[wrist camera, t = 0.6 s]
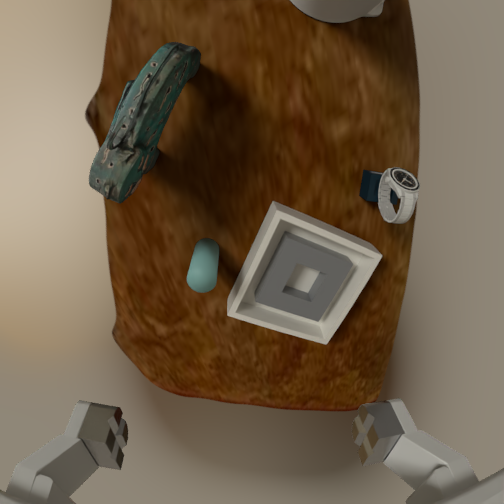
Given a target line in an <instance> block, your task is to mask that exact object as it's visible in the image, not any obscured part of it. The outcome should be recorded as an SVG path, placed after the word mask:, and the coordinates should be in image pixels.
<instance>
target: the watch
mask: <svg viewBox="0 0 504 504" xmlns="http://www.w3.org/2000/svg"><path fill="white" fill-rule="evenodd" d="M419 188H420V184H419V181H418V180H417V178H416V177H415V176H414V175H413V174H412V173H410V172H409V171H407V170H405V169H402V168H398V167H395V168H392V169H390V168H388V169H387V170H386V171H385V172H384V173H380V172H374V171H368V170H363V177H362V183H361V189H360V195H359V196H361V197H362V198H364V199H365V200H366V201H373V202H379V203H378V206H379V209H380V212H381V215H382V217H383V218H384V220H385V221H387V222H390V223H399V224H403V223H405V222H407V220H409V219H410V217H411V216H412V214H413V211H414V208H415V204H416V201H417V200H418V190H419ZM398 198H401V203H400V207H399V210H398V213H397V215H396V213H395V211H394V208H393V205H392V204H396V205H397V200H398Z"/></svg>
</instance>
